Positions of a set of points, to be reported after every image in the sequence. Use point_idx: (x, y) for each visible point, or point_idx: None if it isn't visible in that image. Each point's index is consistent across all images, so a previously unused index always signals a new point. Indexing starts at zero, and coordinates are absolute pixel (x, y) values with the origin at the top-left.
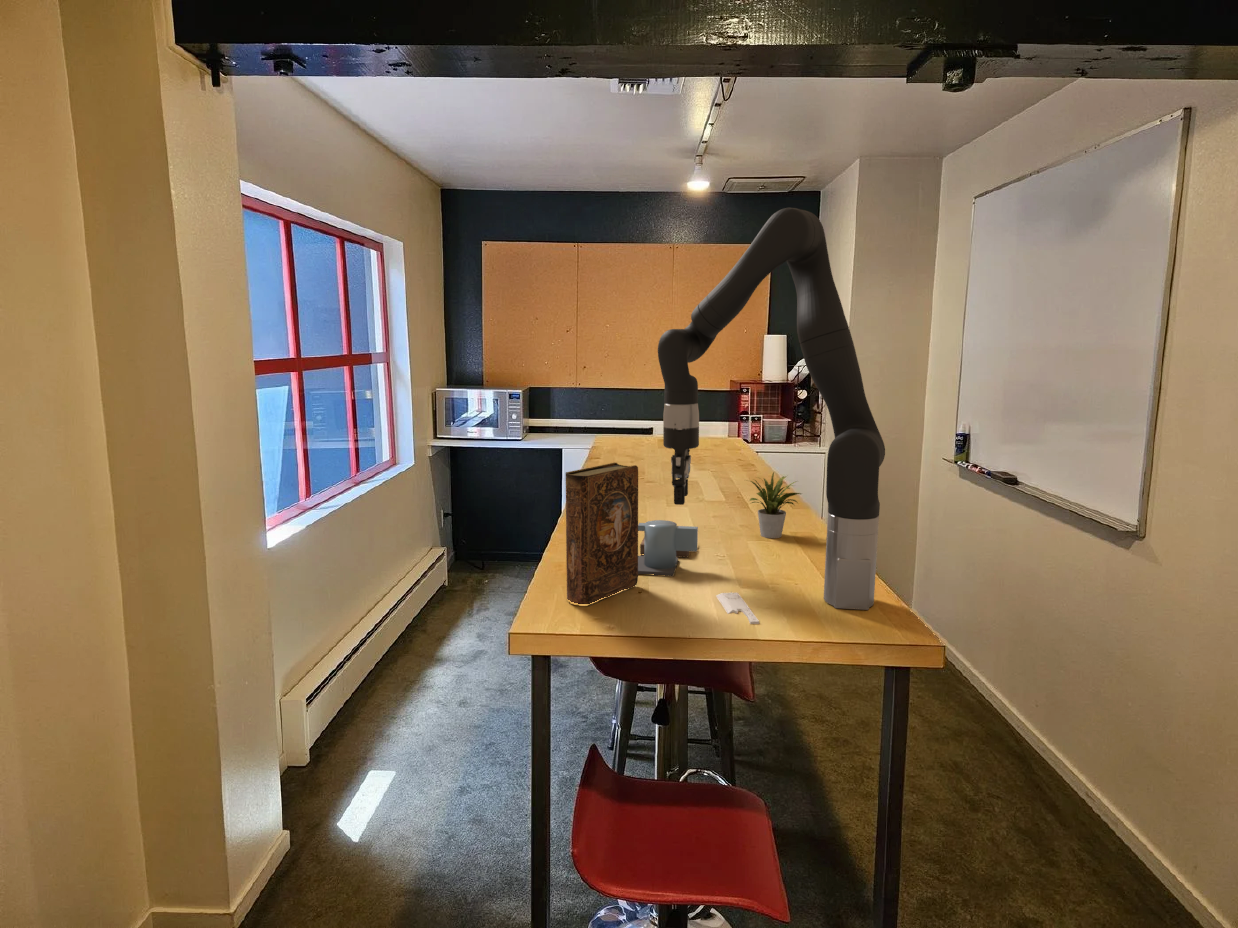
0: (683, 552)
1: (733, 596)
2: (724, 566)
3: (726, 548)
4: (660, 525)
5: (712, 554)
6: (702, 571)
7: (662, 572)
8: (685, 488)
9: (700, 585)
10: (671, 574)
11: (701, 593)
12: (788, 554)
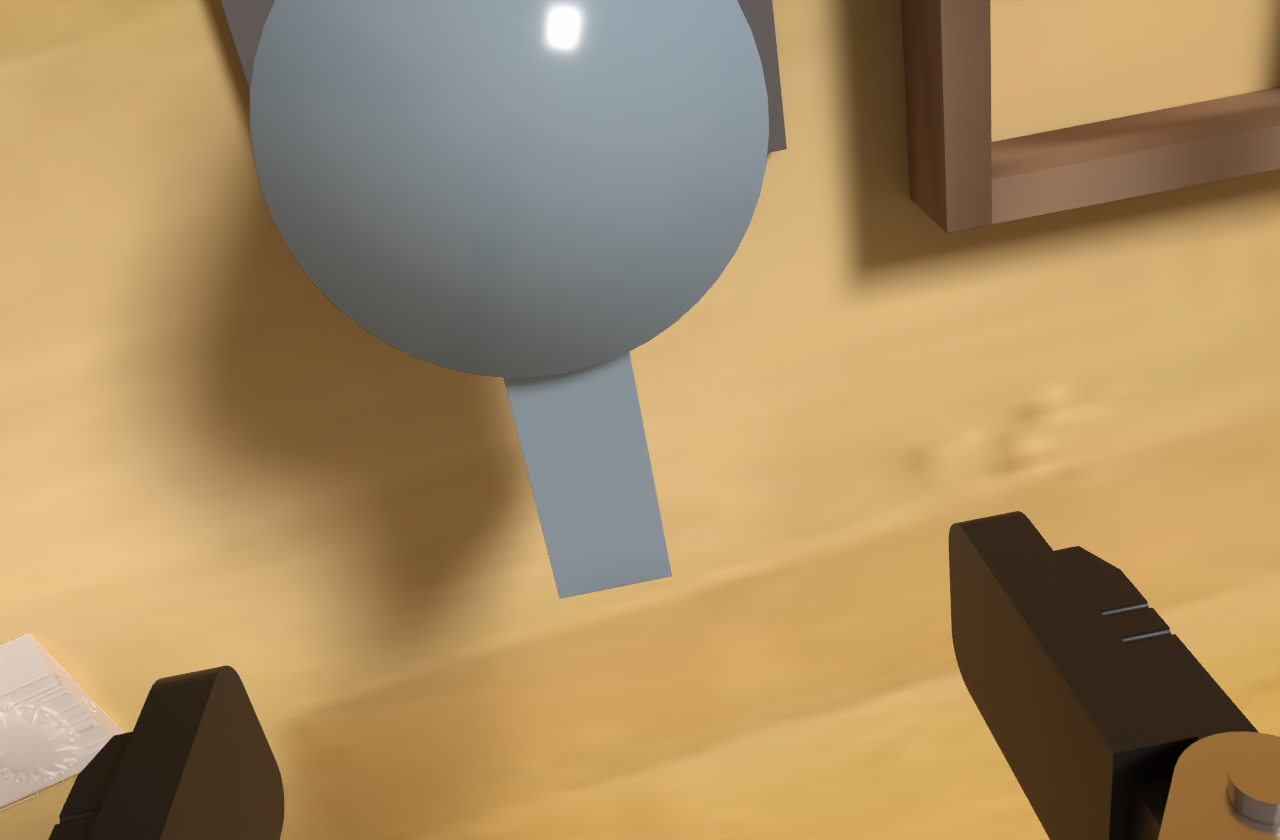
0: (923, 171)
1: (10, 755)
2: (736, 529)
3: (1242, 432)
4: (434, 169)
5: (1049, 372)
6: None
7: None
8: (1007, 738)
9: (189, 489)
10: None
11: (10, 540)
12: None
